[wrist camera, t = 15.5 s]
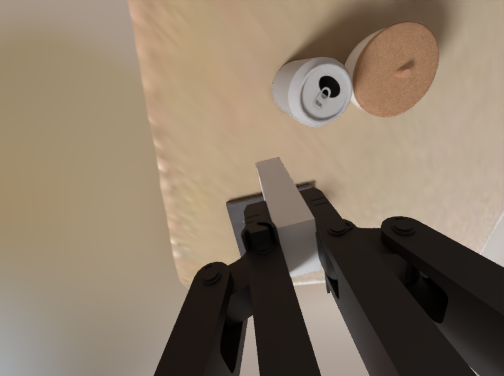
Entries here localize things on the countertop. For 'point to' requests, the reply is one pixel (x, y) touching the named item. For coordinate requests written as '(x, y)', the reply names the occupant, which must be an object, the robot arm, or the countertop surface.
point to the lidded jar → (393, 68)
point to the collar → (237, 214)
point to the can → (313, 90)
